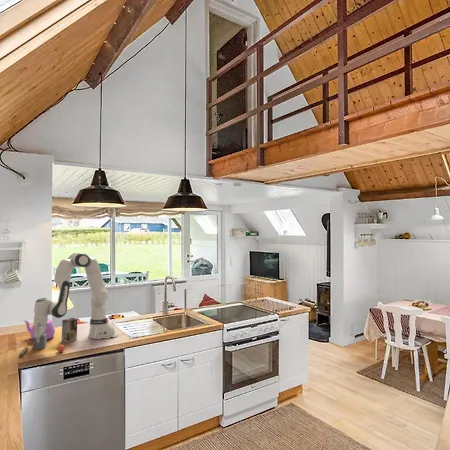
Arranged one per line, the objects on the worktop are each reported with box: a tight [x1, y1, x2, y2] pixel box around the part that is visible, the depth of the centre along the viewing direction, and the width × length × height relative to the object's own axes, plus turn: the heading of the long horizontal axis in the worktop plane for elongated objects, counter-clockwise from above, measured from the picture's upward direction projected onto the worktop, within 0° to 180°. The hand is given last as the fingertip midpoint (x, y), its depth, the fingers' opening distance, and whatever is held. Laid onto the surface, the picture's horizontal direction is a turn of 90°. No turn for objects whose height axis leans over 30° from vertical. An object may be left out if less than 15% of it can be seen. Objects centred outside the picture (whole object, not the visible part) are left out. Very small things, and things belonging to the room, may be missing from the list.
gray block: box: [32, 333, 48, 350], centre depth 249 cm, size 7×7×9 cm
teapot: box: [22, 318, 56, 340], centre depth 271 cm, size 23×21×15 cm
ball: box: [56, 344, 66, 353], centre depth 241 cm, size 5×5×5 cm
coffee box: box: [61, 317, 78, 343], centre depth 266 cm, size 9×6×16 cm
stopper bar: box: [18, 346, 29, 359], centre depth 235 cm, size 2×14×2 cm, turn 17°
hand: (39, 340), depth 249 cm, fingers closed on gray block, 7 cm apart
